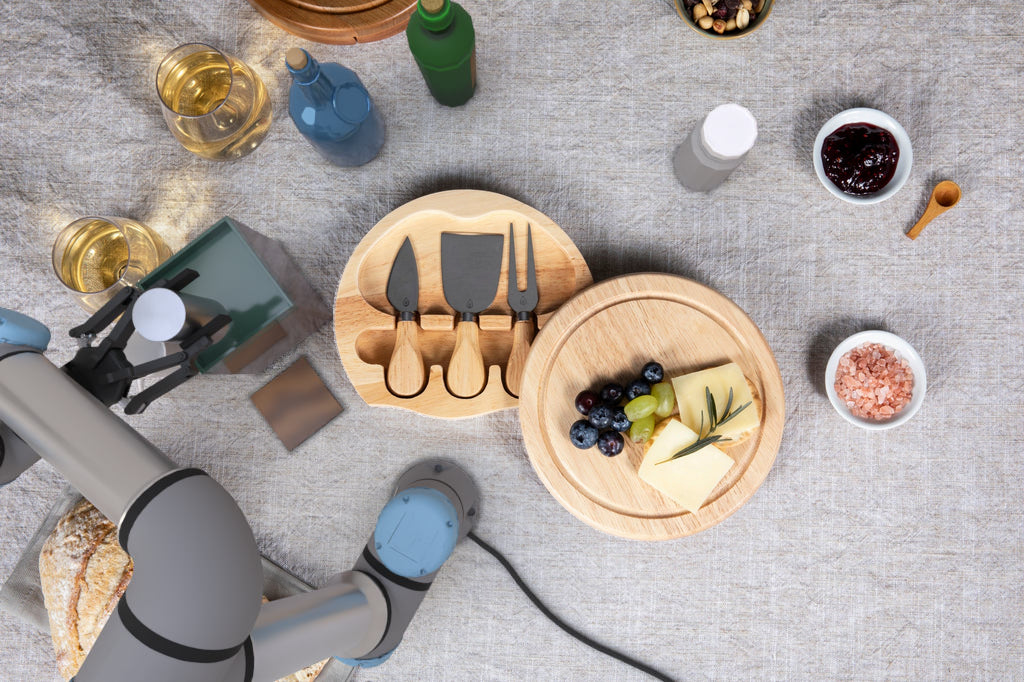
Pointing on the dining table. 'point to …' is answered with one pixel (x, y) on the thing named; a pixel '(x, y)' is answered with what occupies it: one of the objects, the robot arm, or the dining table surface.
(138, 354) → the mug
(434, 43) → the bottle
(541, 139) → the dining table surface
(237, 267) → the teal boxy piece
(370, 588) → the robot arm
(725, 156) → the jar
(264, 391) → the brown coaster
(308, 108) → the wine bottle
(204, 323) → the can
